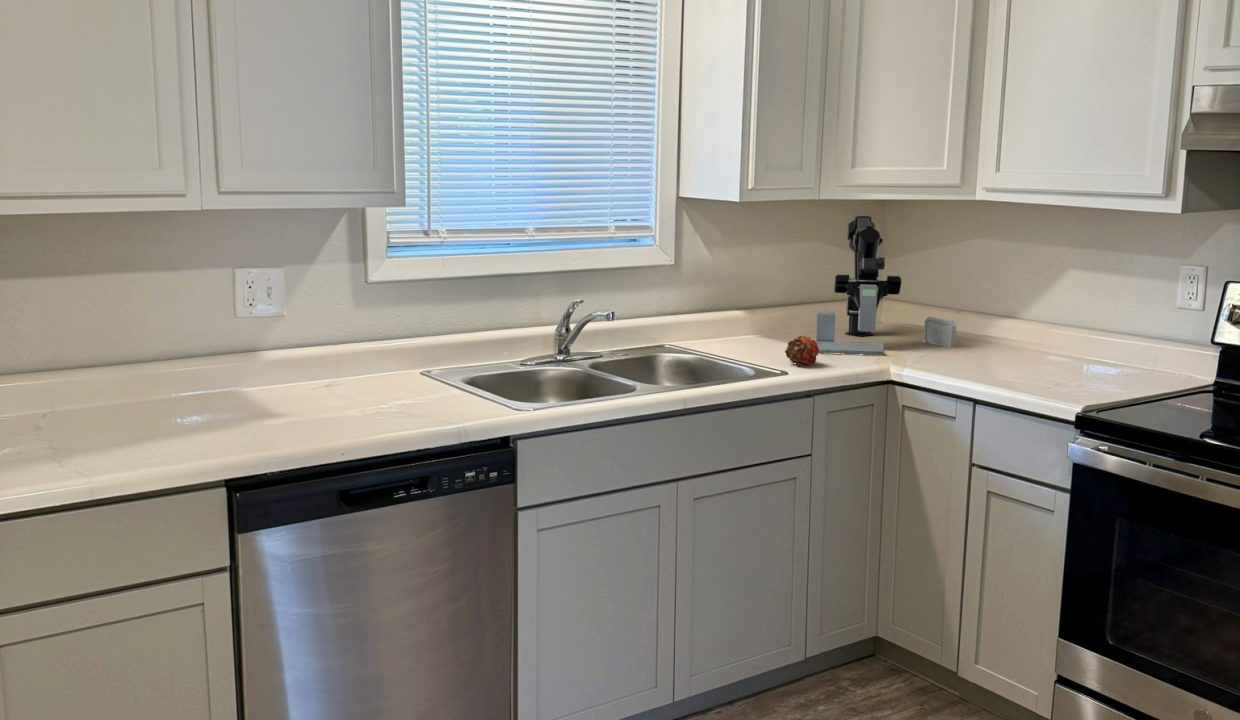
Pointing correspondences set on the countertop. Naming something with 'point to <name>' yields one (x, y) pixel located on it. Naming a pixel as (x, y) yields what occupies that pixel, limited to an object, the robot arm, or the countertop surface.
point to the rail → (827, 344)
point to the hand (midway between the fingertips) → (868, 307)
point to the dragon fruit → (802, 350)
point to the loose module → (867, 308)
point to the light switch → (939, 332)
